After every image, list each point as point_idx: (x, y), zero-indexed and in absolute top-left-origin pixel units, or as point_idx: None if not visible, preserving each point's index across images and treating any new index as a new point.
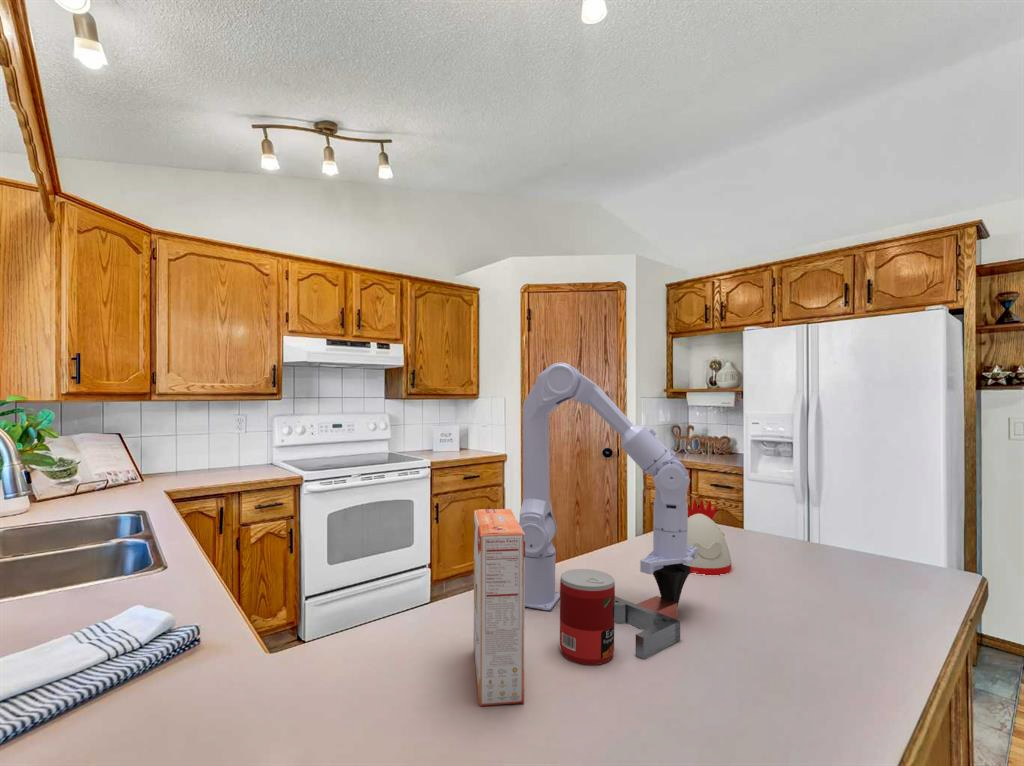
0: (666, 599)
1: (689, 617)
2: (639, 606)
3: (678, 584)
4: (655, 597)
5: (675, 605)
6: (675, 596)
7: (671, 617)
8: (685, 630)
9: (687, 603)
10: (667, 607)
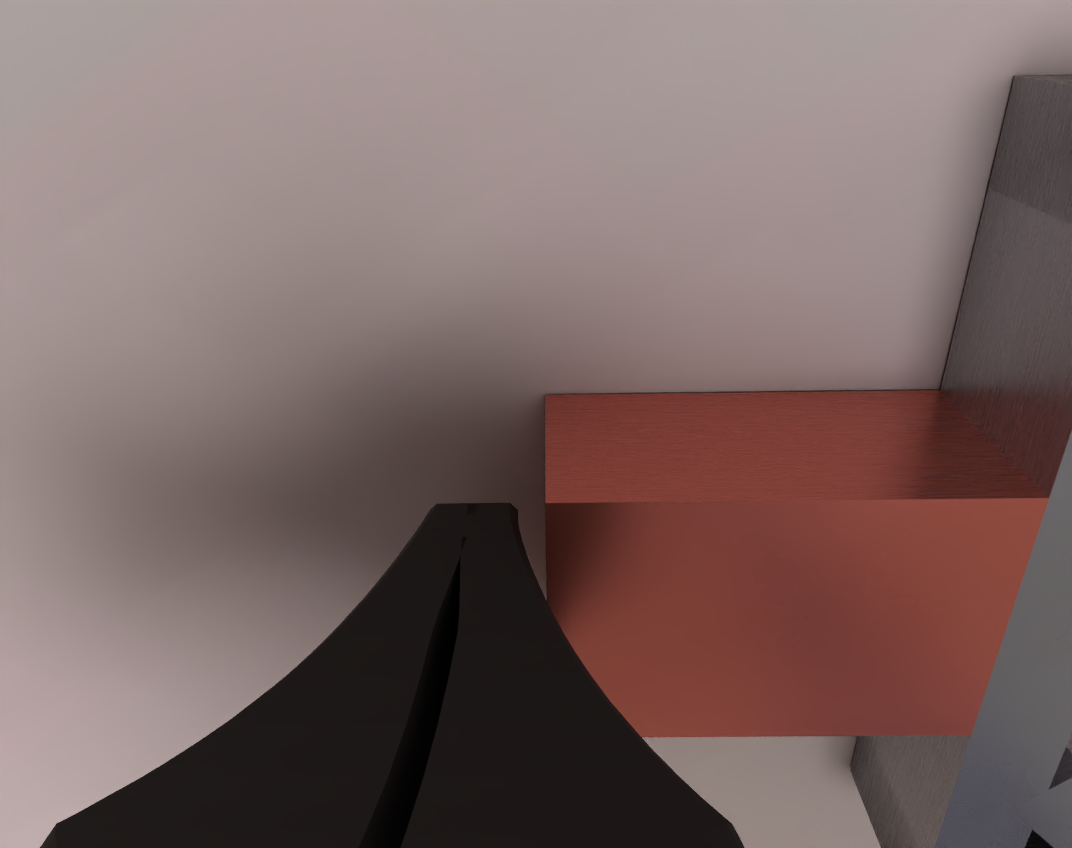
0: None
1: (341, 368)
2: (1010, 683)
3: (477, 696)
4: None
5: (583, 488)
6: (512, 583)
7: (660, 423)
8: (691, 203)
9: (62, 565)
10: (779, 496)
